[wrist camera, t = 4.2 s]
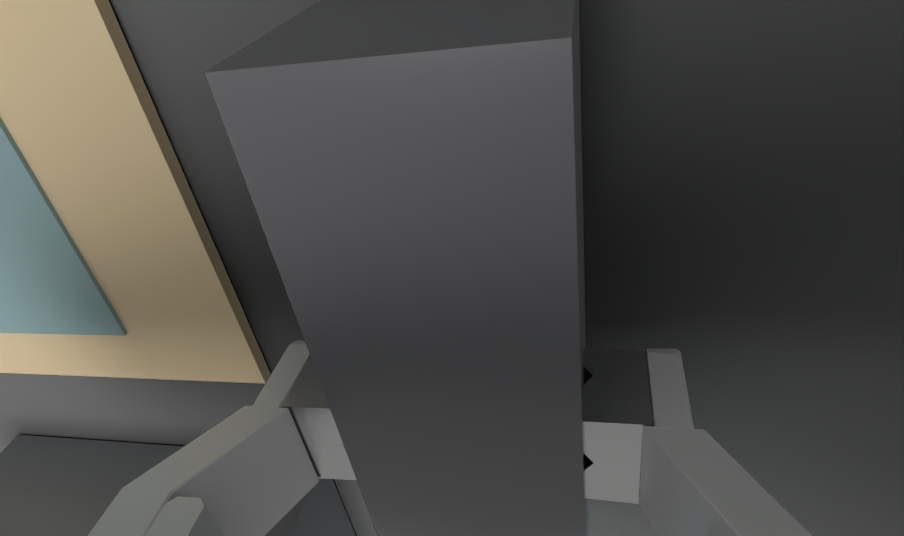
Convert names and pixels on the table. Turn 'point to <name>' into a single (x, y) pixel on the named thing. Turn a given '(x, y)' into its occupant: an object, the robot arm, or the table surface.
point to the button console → (114, 488)
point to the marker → (431, 246)
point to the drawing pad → (101, 216)
